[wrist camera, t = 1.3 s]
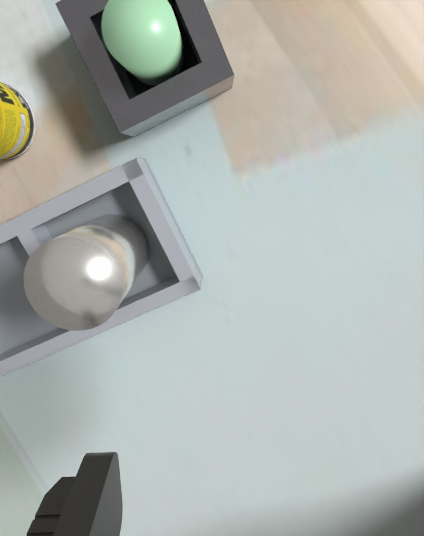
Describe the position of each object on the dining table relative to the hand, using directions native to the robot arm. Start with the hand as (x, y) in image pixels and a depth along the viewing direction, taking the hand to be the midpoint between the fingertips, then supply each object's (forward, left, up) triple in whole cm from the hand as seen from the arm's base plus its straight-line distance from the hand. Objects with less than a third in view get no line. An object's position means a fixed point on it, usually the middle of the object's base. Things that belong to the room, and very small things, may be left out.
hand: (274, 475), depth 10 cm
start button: (-1, -15, -17) cm, 23 cm away
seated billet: (+7, -5, -18) cm, 20 cm away
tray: (+11, -5, -19) cm, 23 cm away
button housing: (-1, -15, -19) cm, 24 cm away
